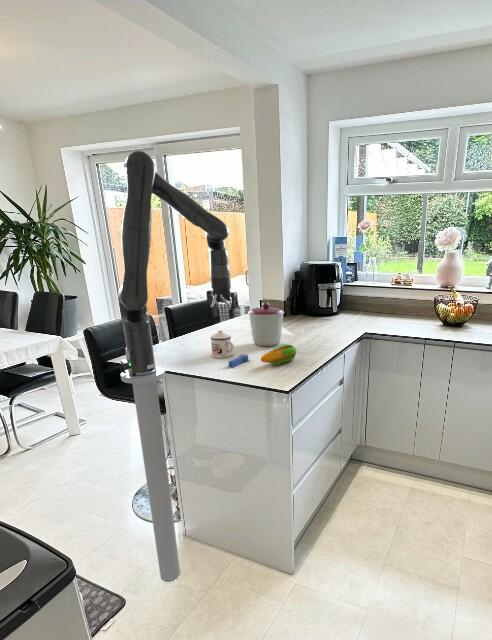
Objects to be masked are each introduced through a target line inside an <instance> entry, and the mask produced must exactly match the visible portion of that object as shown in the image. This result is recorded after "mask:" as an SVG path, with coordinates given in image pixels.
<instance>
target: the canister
mask: <svg viewBox="0 0 492 640" xmlns="http://www.w3.org/2000/svg"><path fill="white" fill-rule="evenodd" d="M247 314H248V315H249V316H248V317H249V323H250V329H251V330H250V331H251V335H252V341H253V343H254V344H255V345H256V346H259V347H275V346H278V345H279V344H280V342H281V337H282V330H283V319H284V314H285V311H284V310H282V309H281V308H279V307H273V306H271V305H270V303H269V302H267V301H266V302H265V301H264V302H263V303H262V307H261V306H260V307H254V308H252V309H250V310H249V311H247Z"/></svg>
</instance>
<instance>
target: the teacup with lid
mask: <svg viewBox="0 0 492 640" xmlns="http://www.w3.org/2000/svg"><path fill="white" fill-rule="evenodd" d="M231 339H232V336H231V335H230V334H228V333H226V332H224V331H223V330H222V329H219V330H218V331H217V332H215V333H214V334H212V335H210V344H211V356H212V357H213V358H217V359H224V358H229V357H231V356H232V352H233V351H234V348H235V347H234V343H233V342H232V341H231Z"/></svg>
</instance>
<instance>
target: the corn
mask: <svg viewBox="0 0 492 640" xmlns="http://www.w3.org/2000/svg"><path fill="white" fill-rule="evenodd" d="M297 353H298V350H297V348H296V347H295V346H293V345H291V344H289V343H283V344H280V345H279V344H278V345H275V346H272V347H271V348H270V351H267V352H265V353H264V354H263V355H261V357H260V361H261V362H262V363H267V364H268V363H269V364H270V365H271V366H279V365H282V364H286V363H289V362H291V361H293V360H294V359H295V357H296V356H297V355H296V354H297Z"/></svg>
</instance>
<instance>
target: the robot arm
mask: <svg viewBox="0 0 492 640" xmlns="http://www.w3.org/2000/svg"><path fill="white" fill-rule="evenodd" d="M123 171H124V174H125V176H126V180H127V181H126V185H127V193H126V194H127V195H126V203H125V206H124V210H123V216H122V223H121V252H122V260H123V278H122V285H121V286H120V288H119V289H118V292H117V299H118V306H119V312H120V319H121V322H122V327H123V334H124V341H125V346H126V348H124V352H125V357H126V359H121V360H120V366H119V371H120V372H121V373H122V372H123V373H126V371H125V370H128V372H129V373H130V374H131V375H132V376H143V375H149V374H152V373H155V372H156V368H155V366H156V361H155V354H154V344H153V337H152V329H151V321H150V318H149V313H148V306H147V304H148V302H149V301H148V300H149V293H148V267H149V260H150V251H151V242H152V241H151V240H152V195H154V196H156V197H157V198H159V200H161V201H163V202H164V203H165V204H167V206H169V207H171V209H173V210H174V211H175V212H177V213H178V214H179V215H180V216H181V217H183V218H184V219H185V220H187V221H188V222H189V223H190V224H192V225H193V226H194V227H198V228H200V229H201V230H203V231H204V232H205V238H206V243H207V247H208V252H209V274H210V287H211V289H210V290H207V291H206V306H209V307H210V308H211V315H212V317H213V318H216V317H218V316H219V313H218V307H217V306H218V304H220V303H222V304H224V305H225V306H226V307H227V308H228V318H229V320H231V319H234V318H235V317H236V314H235V313H236V312H235V310H236V309H237V308H239V298H238V292H237V291H232V292H231V288H232V285H231V282H232V281H231V269H230V264H229V253H228V250H227V248H226V245H225V240H226V239H227V238H228V237H229V232H230V231H229V228H228V226H227V224H226V222H224V221H223V220H221V219H220V218H219V217H218V216H216V215H214V214H212V213H211V212H209V211H208V210H207V209H206V208H204V206H202V205H200V203H198V202H197V201H196V200H194V199H193V198H192V197H191V196H190V195H188V194H186V193H185V192H183V191H181V190H180V189H178V188H176V187H175V186H173V185H172V184H170V183H169V182H168V181H167V180H165V179H164V178H163V177H162V176H161V175H160V174H159V173H158V172H157V171H156V165H155V162H154V160H153V158H152V157H151V156H150V155H149V154H148V153H147V152H145V151H143V150H134V151H132V152H131V153H129V154H128V155H127V156H126V158H125V160H124V163H123Z"/></svg>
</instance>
